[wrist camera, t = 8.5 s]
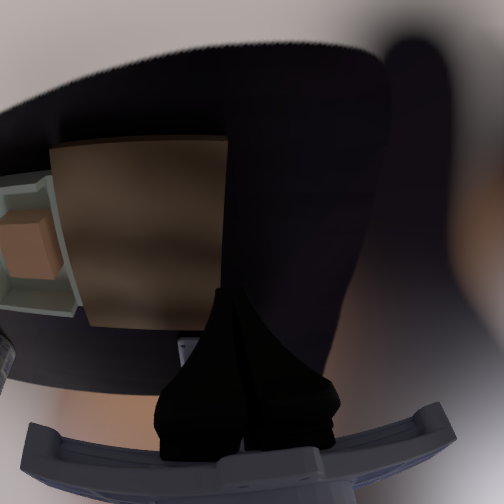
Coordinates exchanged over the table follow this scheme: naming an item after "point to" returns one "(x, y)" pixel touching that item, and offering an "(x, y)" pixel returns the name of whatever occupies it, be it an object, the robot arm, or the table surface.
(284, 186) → the table surface
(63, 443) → the robot arm
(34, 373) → the table surface
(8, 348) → the energy drink
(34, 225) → the block
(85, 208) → the board
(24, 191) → the box
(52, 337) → the table surface
